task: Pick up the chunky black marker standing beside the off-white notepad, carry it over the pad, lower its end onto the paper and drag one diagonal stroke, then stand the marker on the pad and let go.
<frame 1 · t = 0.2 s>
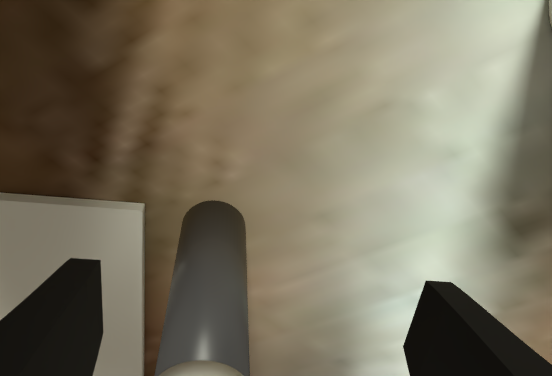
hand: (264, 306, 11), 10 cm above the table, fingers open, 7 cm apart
marker: (213, 227, 22), on the table
notepad: (36, 304, 23), on the table
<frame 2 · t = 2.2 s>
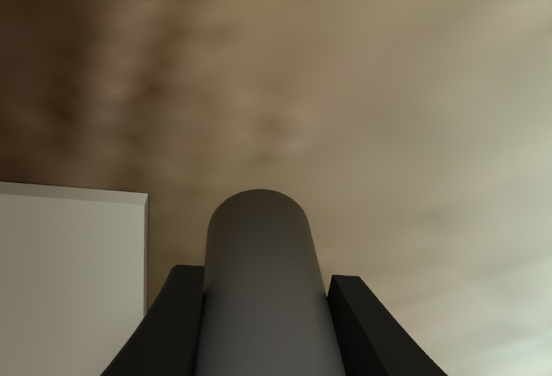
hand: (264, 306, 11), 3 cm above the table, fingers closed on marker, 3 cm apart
marker: (258, 233, 13), on the table, touching gripper
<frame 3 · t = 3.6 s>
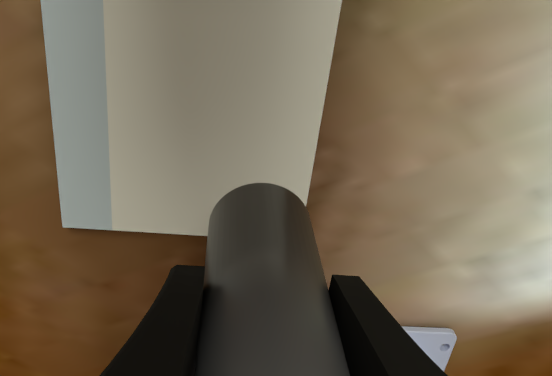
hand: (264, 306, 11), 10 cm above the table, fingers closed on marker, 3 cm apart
marker: (259, 227, 13), point 7 cm above the table, touching gripper
notepad: (191, 94, 18), on the table
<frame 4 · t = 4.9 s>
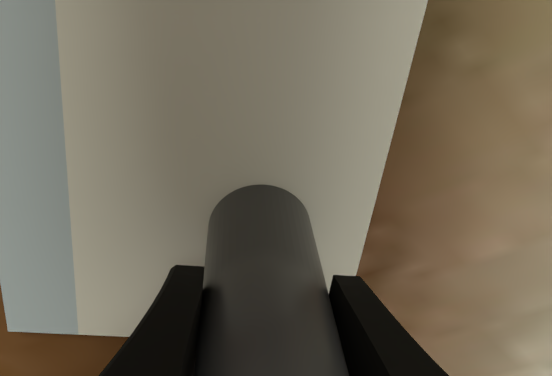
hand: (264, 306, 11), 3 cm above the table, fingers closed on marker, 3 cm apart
marker: (259, 229, 13), point 1 cm above the table, touching gripper, notepad
notepad: (191, 153, 13), on the table
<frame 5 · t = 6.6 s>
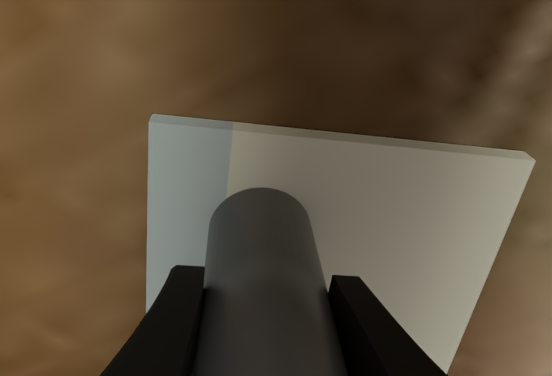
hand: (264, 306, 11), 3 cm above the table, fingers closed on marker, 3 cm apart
marker: (260, 232, 13), point 1 cm above the table, touching gripper
notepad: (309, 308, 15), on the table
when the fingers open (3 cm above the table, at t = 7.5 s): marker stays where it is, resting on notepad.
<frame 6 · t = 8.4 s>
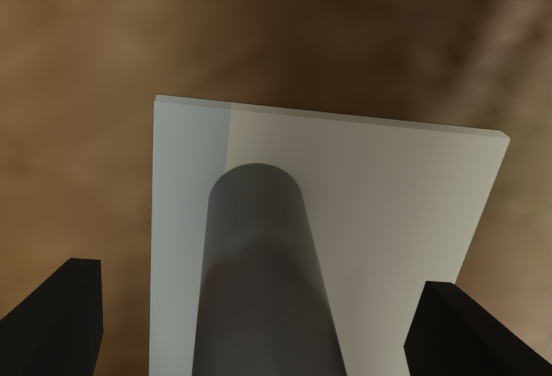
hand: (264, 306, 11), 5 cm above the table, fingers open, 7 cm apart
marker: (255, 206, 14), point 1 cm above the table, touching notepad
notepad: (303, 280, 17), on the table
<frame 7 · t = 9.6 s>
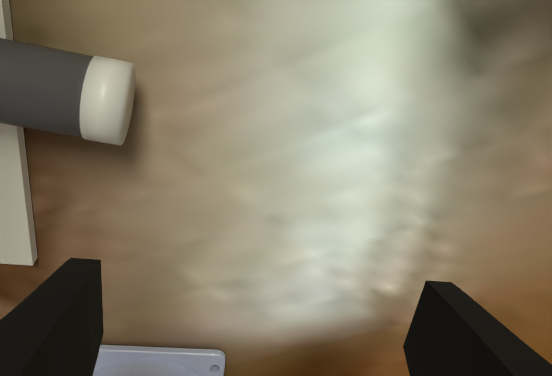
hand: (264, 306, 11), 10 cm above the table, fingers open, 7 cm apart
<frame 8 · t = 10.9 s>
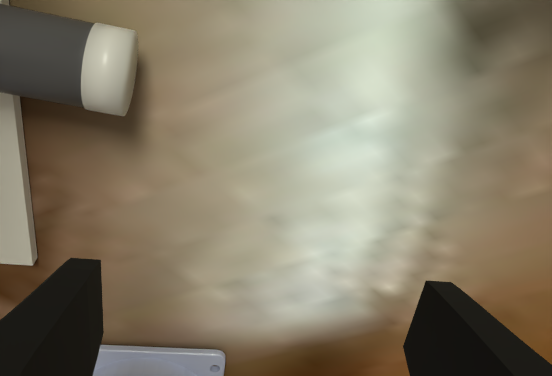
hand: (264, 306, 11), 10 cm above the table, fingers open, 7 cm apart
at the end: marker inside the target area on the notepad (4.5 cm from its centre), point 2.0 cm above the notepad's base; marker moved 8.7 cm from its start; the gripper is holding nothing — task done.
